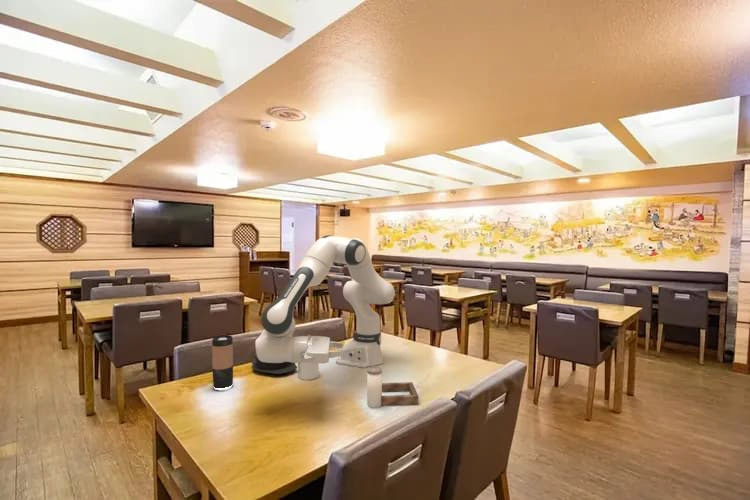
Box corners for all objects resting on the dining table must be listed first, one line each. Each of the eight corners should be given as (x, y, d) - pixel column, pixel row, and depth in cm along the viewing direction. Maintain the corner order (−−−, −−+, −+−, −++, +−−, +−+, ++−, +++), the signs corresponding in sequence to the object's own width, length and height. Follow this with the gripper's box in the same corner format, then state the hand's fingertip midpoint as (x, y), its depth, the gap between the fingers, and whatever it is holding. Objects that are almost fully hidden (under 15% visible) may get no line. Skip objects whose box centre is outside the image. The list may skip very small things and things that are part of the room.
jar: (320, 378, 157) (320, 350, 156) (301, 381, 153) (301, 353, 153) (314, 371, 165) (314, 344, 165) (296, 374, 161) (296, 347, 161)
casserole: (307, 370, 166) (307, 352, 166) (269, 382, 153) (269, 362, 153) (277, 357, 184) (277, 341, 184) (241, 367, 171) (241, 349, 170)
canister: (365, 407, 131) (365, 370, 130) (369, 400, 136) (369, 365, 135) (380, 409, 129) (380, 372, 129) (383, 402, 135) (383, 366, 134)
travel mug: (237, 385, 149) (237, 336, 149) (222, 393, 142) (221, 341, 142) (223, 382, 153) (222, 334, 152) (208, 389, 146) (207, 339, 145)
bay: (382, 405, 132) (382, 397, 132) (379, 390, 145) (379, 383, 145) (418, 404, 133) (418, 396, 132) (412, 389, 146) (412, 382, 145)
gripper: (299, 349, 119) (343, 348, 120) (305, 333, 139) (342, 333, 141) (299, 368, 119) (342, 368, 120) (305, 350, 139) (342, 349, 141)
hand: (342, 349), depth 131 cm, fingers open, 8 cm apart
